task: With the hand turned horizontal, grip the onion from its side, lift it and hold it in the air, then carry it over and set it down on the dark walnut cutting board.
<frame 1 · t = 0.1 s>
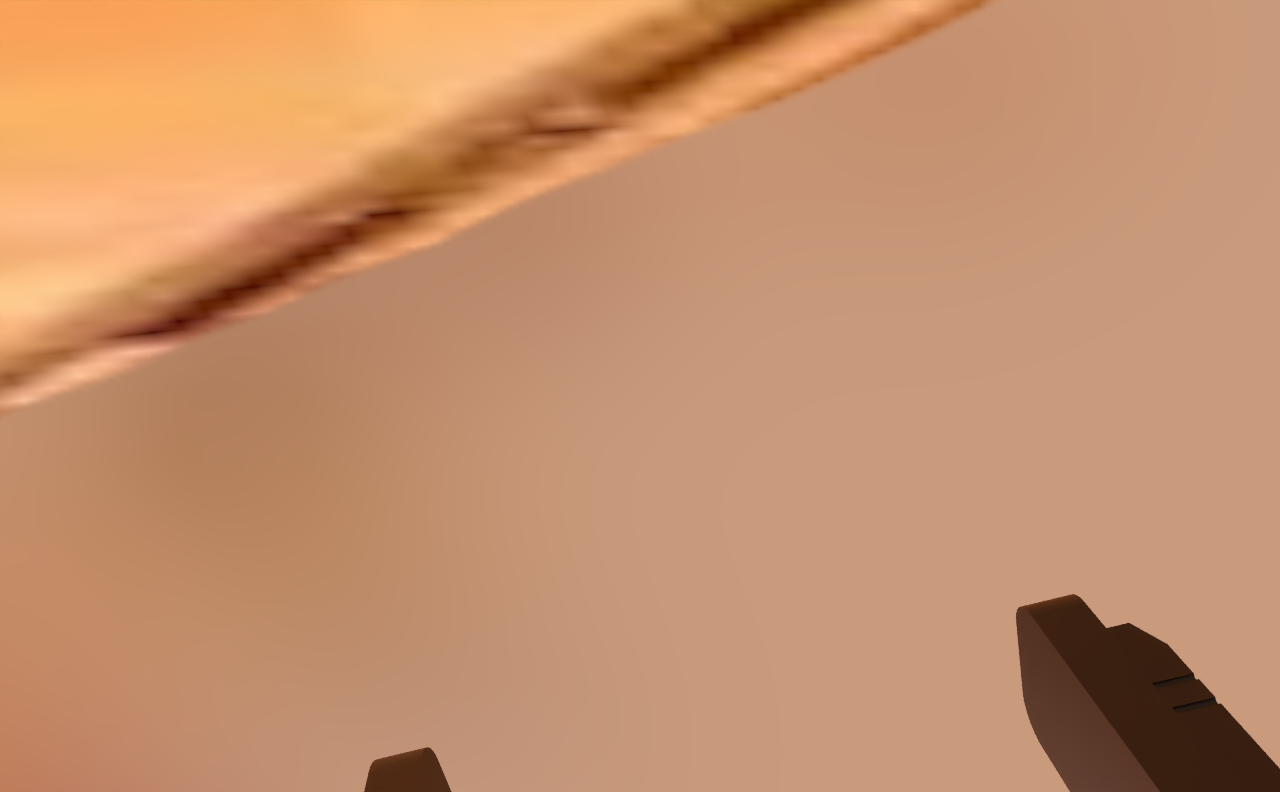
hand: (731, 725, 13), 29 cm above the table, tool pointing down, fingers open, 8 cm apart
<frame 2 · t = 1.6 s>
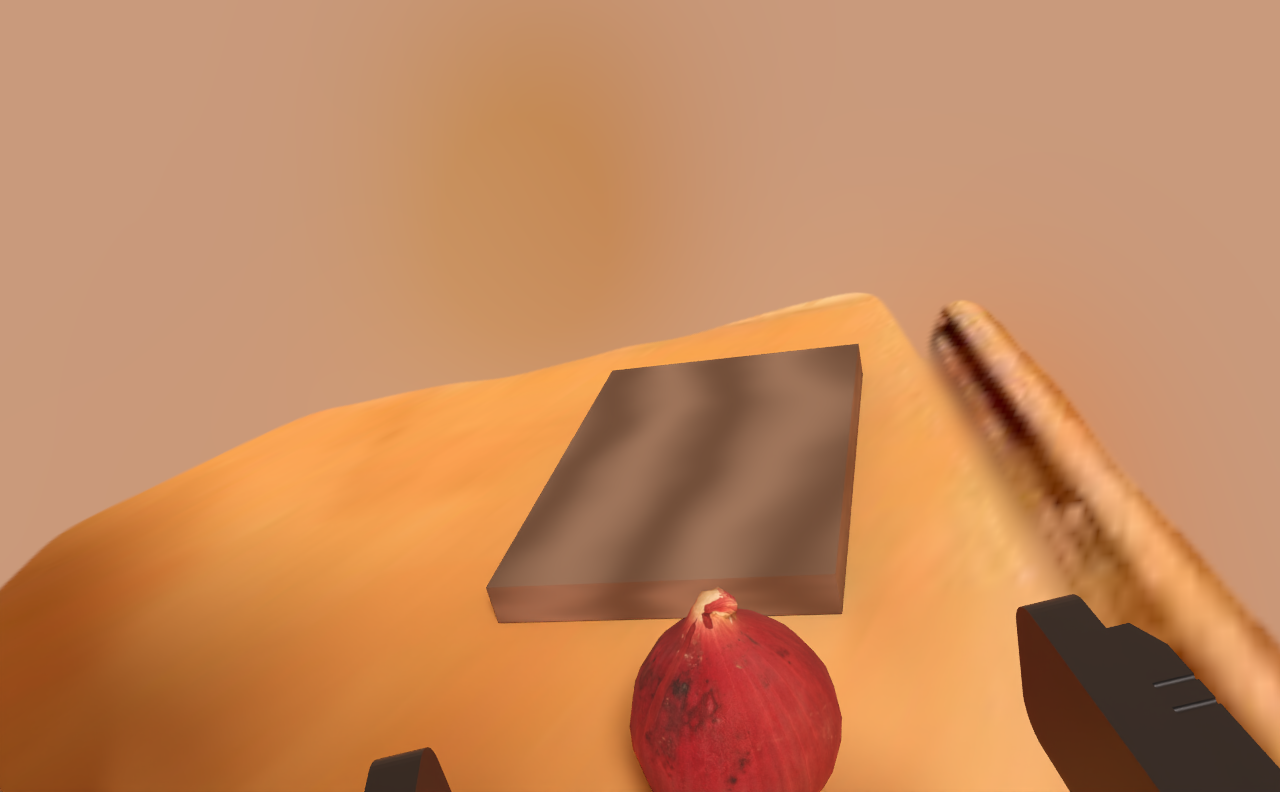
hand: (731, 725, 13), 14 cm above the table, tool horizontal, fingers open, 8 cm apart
cutting board: (705, 481, 47), on the table
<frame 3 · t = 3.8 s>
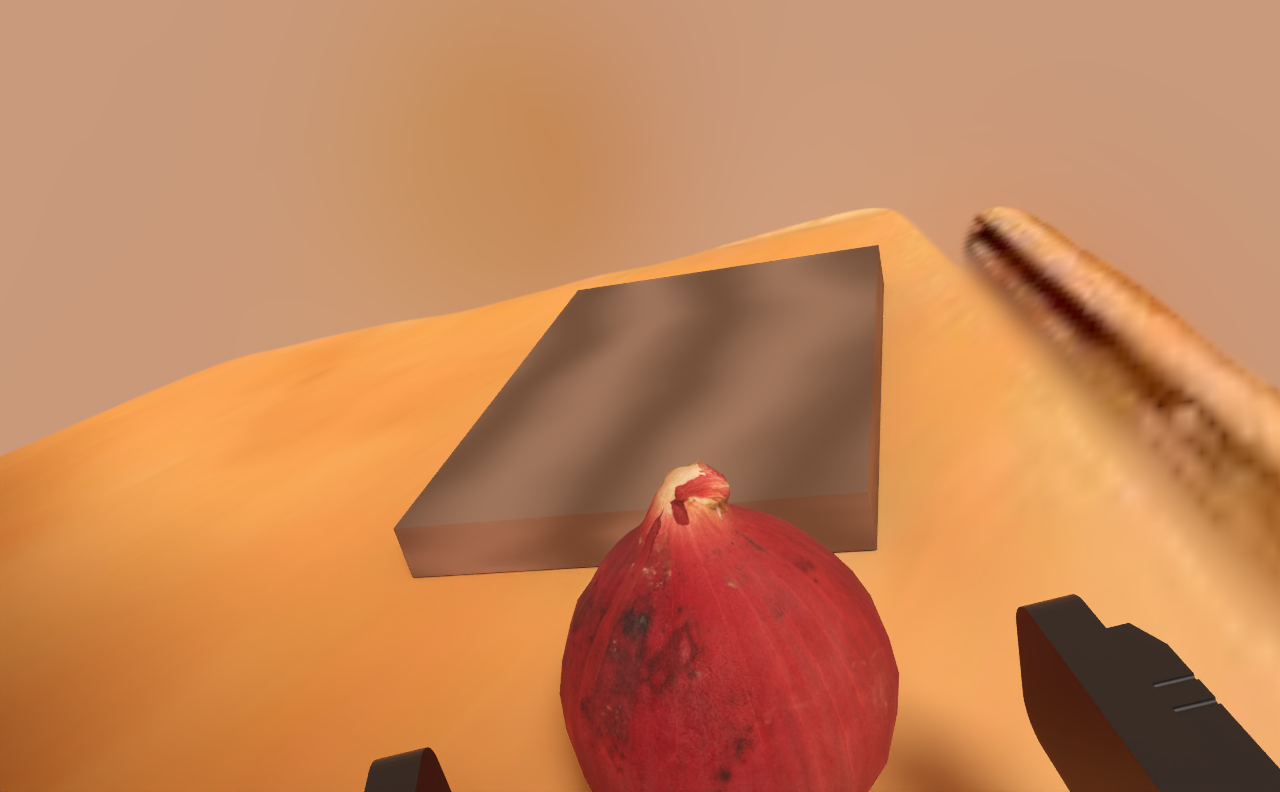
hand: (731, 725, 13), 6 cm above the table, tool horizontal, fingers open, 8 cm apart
cutting board: (690, 404, 37), on the table
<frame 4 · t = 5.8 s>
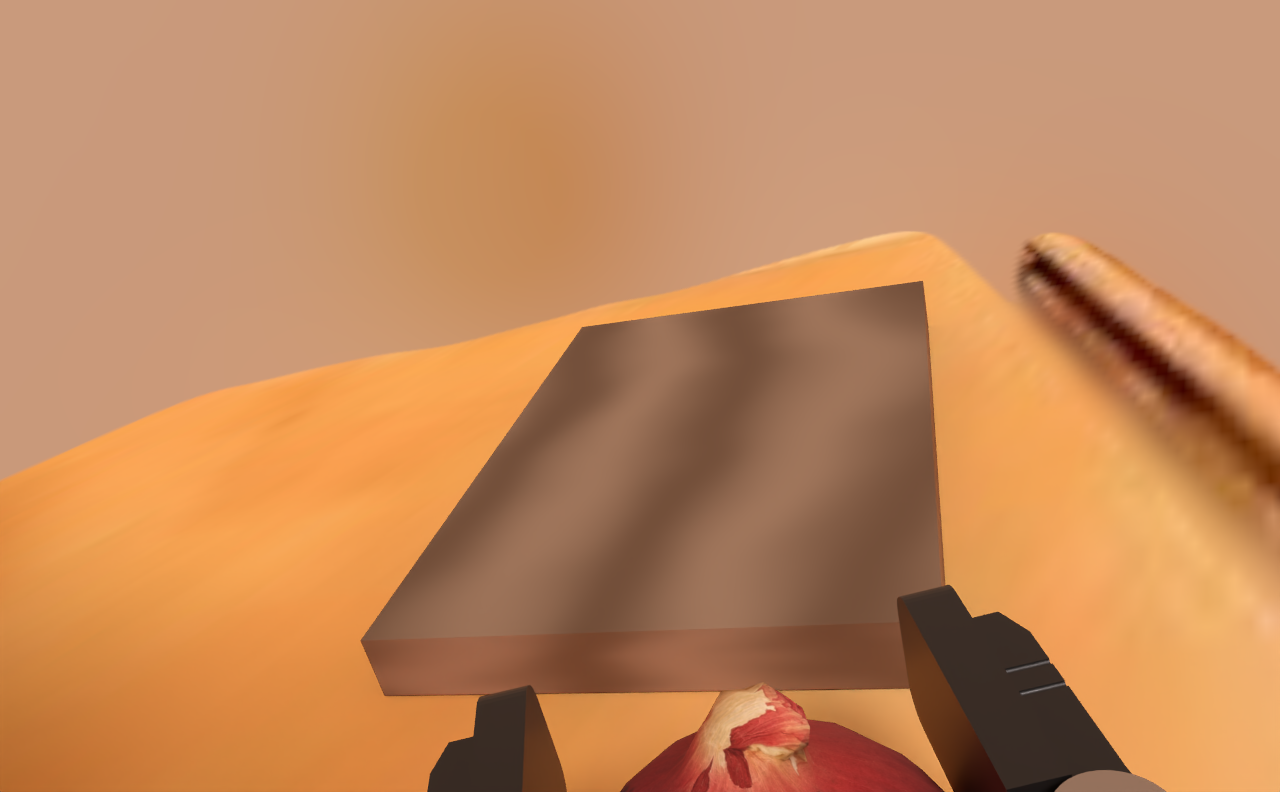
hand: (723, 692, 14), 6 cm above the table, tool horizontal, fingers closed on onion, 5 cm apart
cutting board: (711, 471, 32), on the table
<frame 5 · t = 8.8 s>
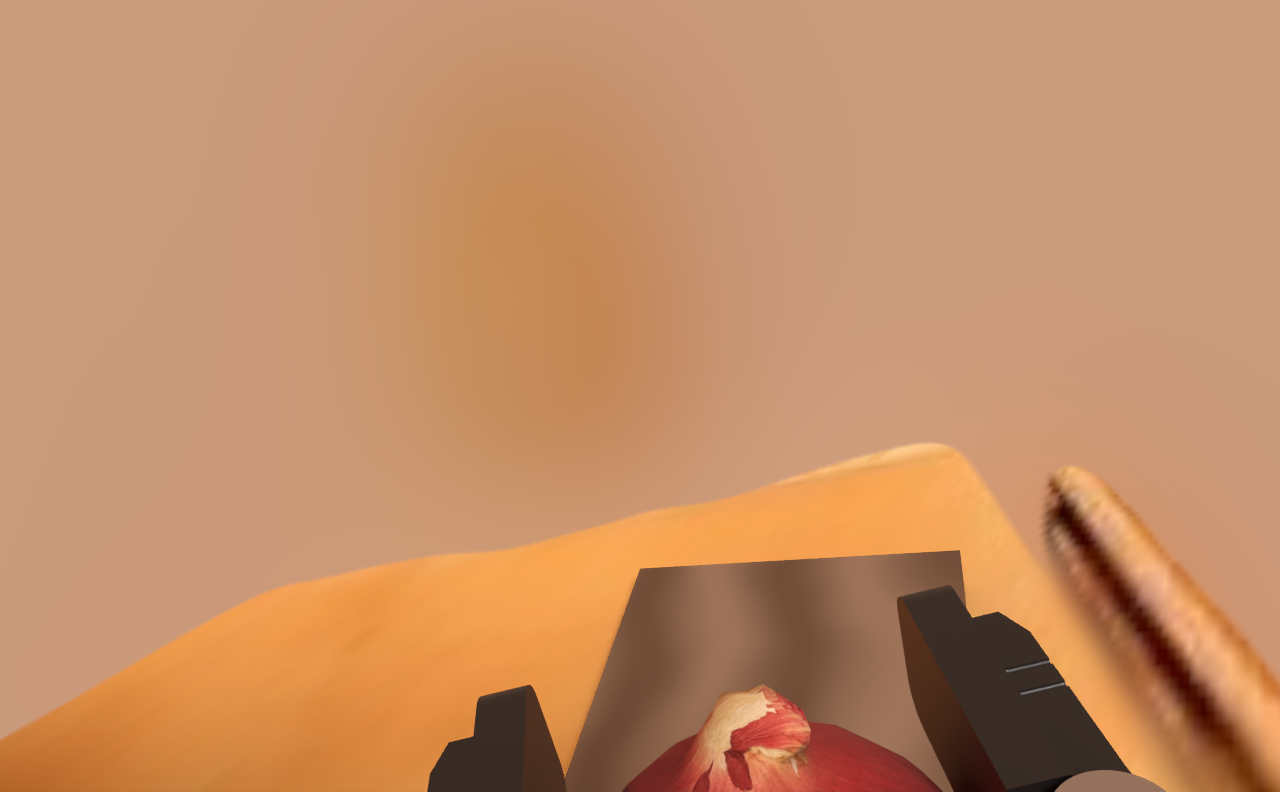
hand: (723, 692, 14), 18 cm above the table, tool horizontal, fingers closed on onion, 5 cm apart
cutting board: (776, 769, 35), on the table
when the fingers open (9 cm above the table, at t = 12.0 s): onion drops 1 cm, resting on cutting board.
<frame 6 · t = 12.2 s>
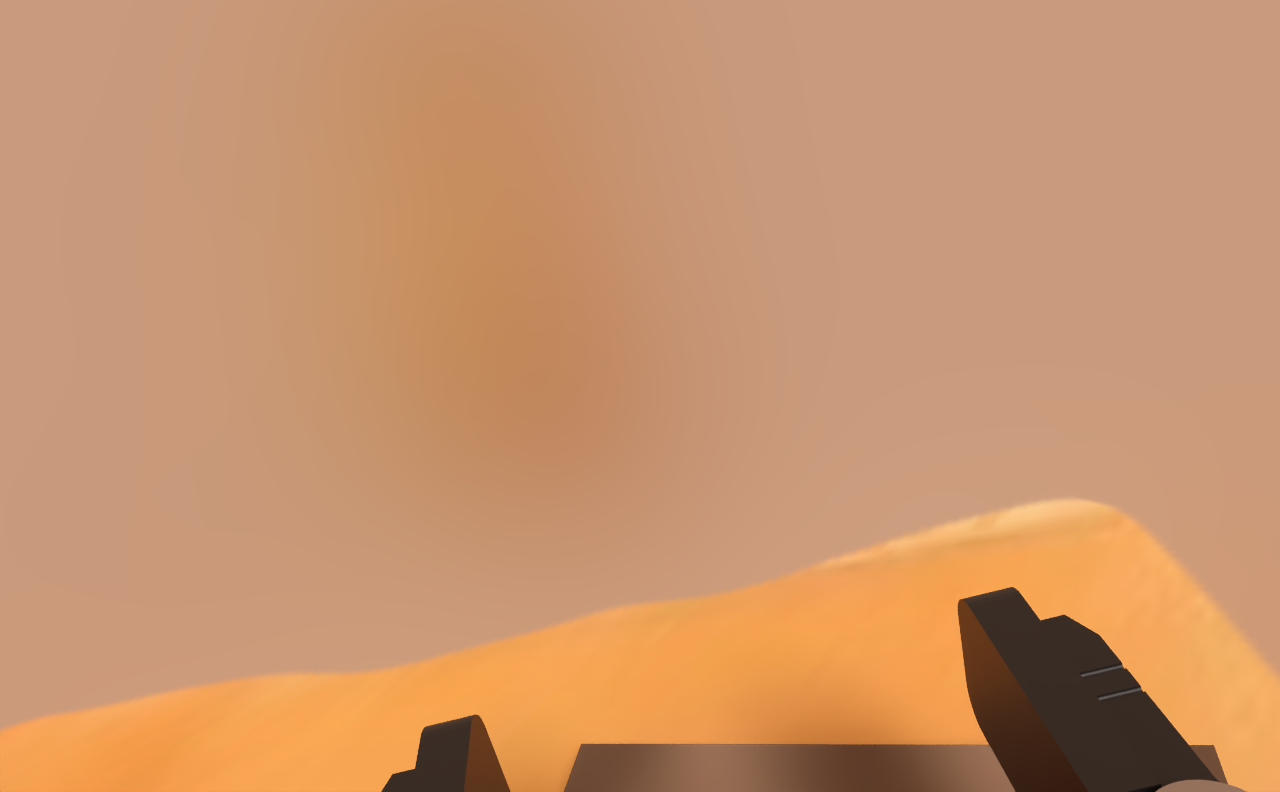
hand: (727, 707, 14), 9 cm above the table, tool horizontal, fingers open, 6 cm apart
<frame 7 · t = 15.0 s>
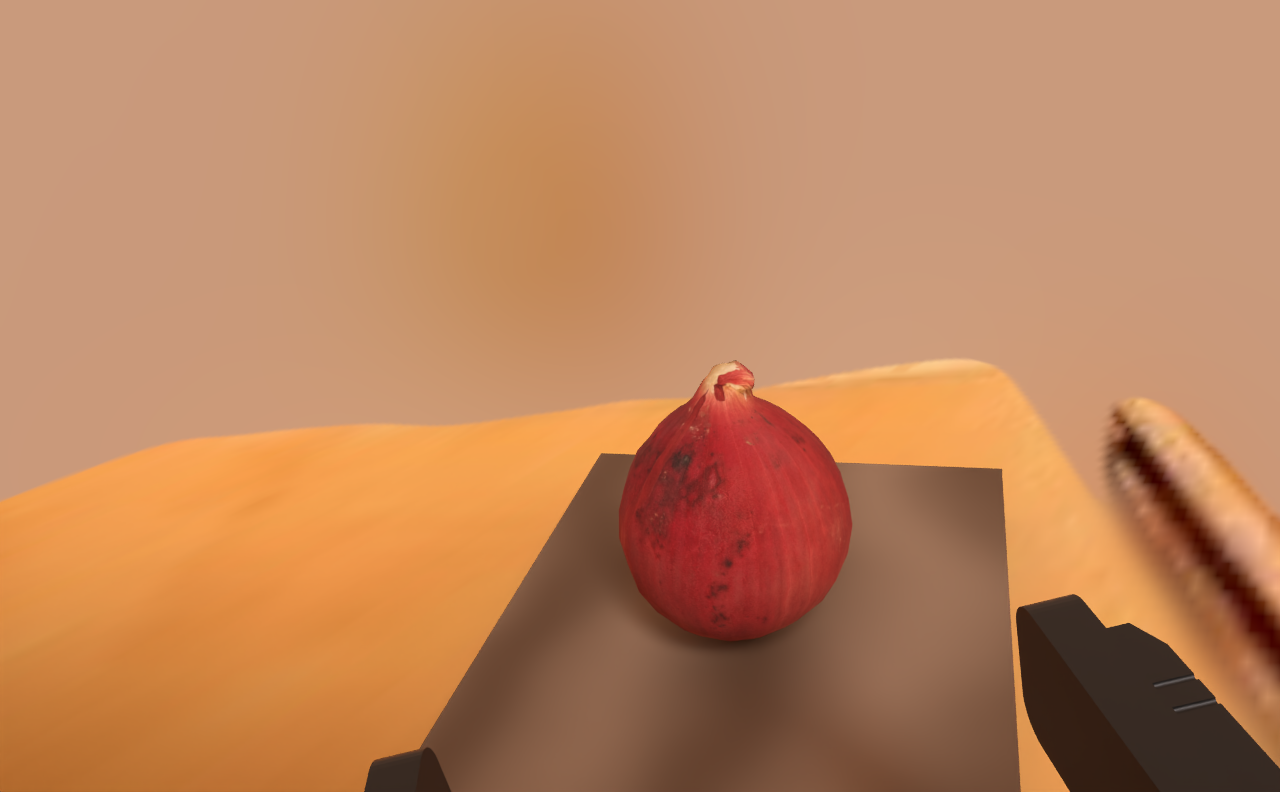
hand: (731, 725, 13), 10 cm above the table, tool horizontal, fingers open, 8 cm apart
cutting board: (737, 705, 27), on the table
onion: (744, 639, 27), point 2 cm above the table, touching cutting board
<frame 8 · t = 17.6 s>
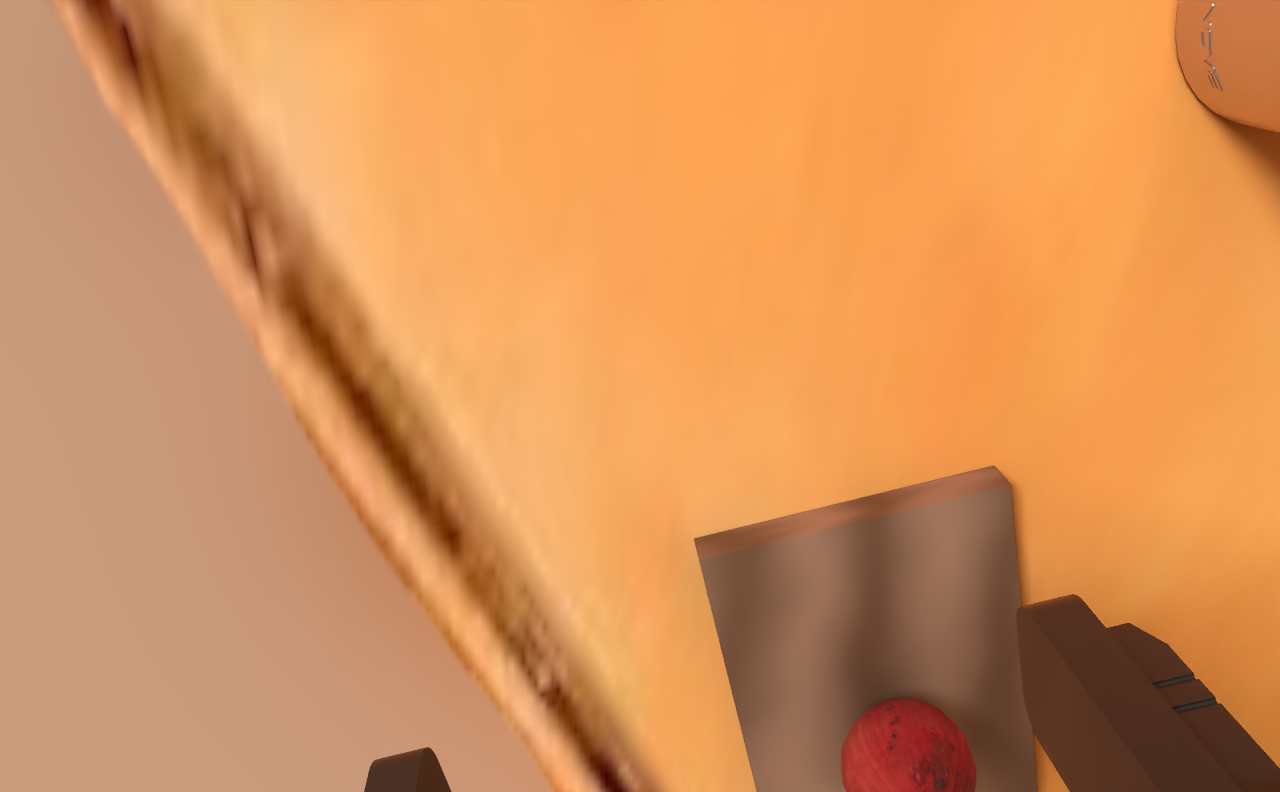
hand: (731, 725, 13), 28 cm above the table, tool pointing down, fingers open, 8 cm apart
cutting board: (872, 671, 49), on the table
onion: (881, 708, 48), point 2 cm above the table, touching cutting board
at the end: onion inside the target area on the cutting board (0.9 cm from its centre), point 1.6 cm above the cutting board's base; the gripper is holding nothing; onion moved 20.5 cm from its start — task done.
